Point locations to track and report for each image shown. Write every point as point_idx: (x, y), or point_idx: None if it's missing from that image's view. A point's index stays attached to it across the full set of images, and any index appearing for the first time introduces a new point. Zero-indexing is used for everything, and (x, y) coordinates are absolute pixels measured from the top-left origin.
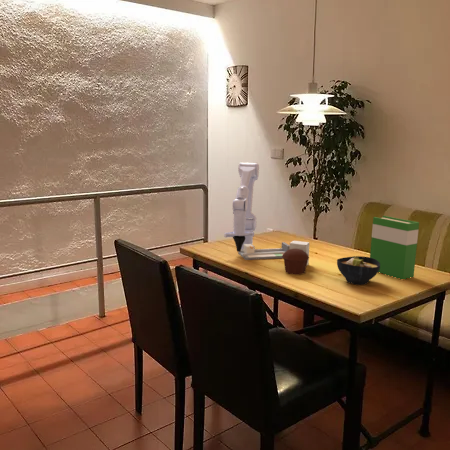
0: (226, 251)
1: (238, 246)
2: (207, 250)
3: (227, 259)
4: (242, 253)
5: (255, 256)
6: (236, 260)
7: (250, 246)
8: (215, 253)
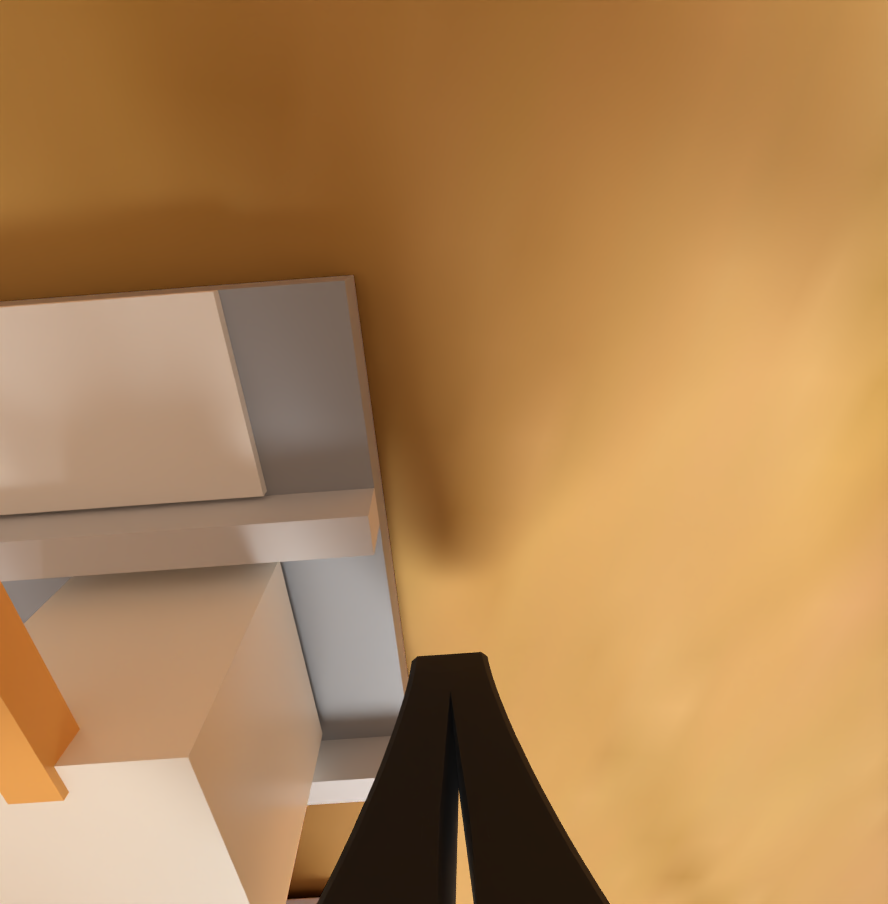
0: (583, 835)
1: (500, 783)
2: (843, 879)
3: (789, 367)
4: (357, 662)
5: (25, 365)
6: (603, 247)
7: (20, 745)
8: (808, 759)
